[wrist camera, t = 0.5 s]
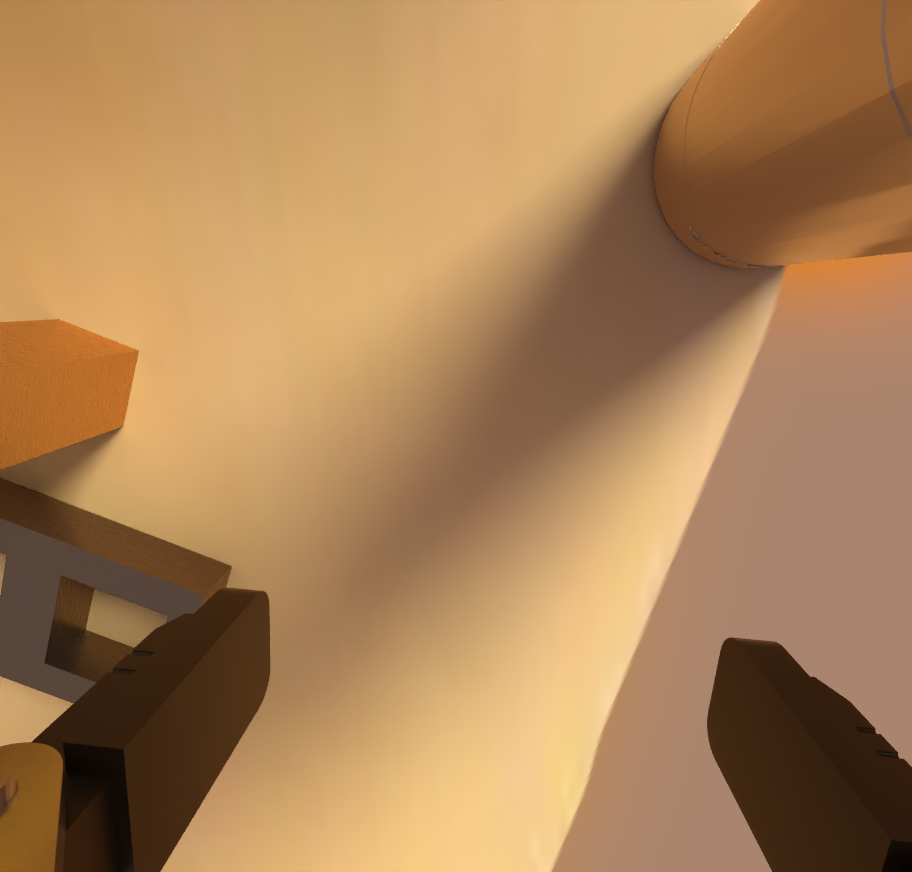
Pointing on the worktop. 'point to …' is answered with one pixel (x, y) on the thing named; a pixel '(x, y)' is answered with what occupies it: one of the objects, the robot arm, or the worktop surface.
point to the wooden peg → (58, 387)
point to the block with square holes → (82, 588)
